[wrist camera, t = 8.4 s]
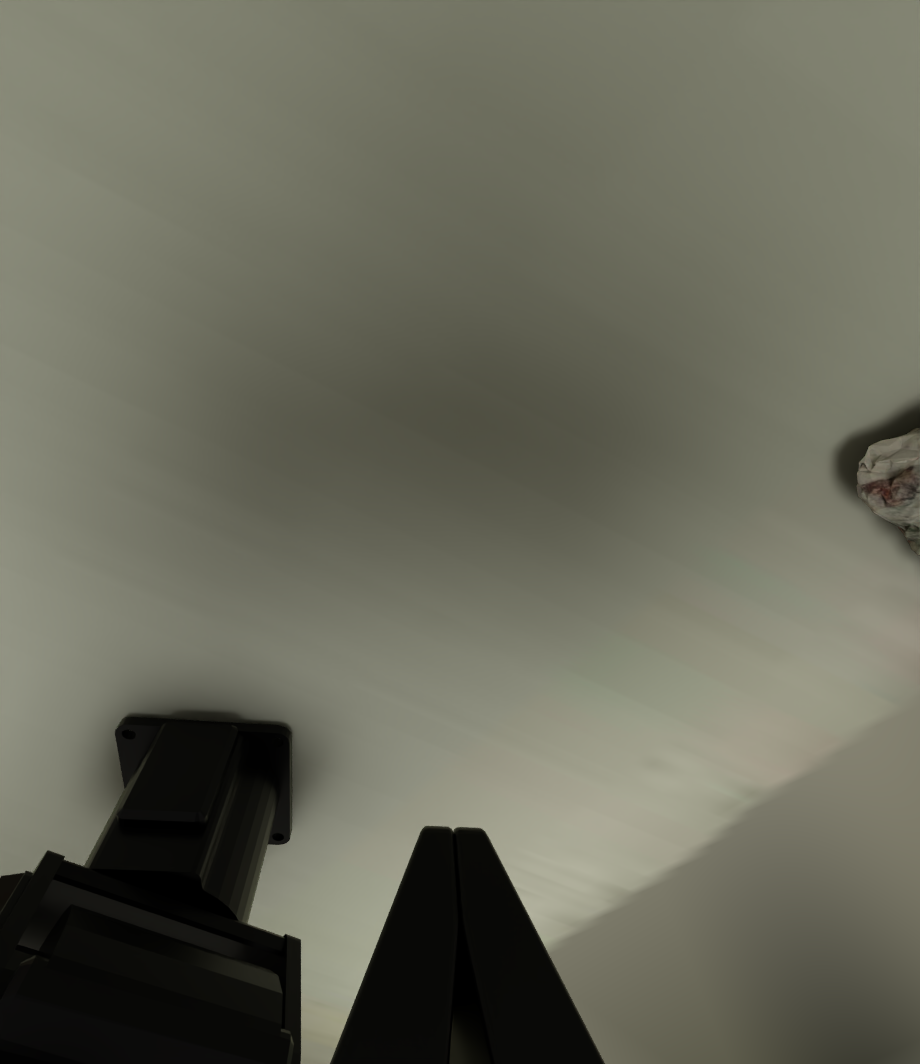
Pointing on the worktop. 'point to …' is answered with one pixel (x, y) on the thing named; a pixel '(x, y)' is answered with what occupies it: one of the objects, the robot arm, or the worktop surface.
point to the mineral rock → (894, 483)
